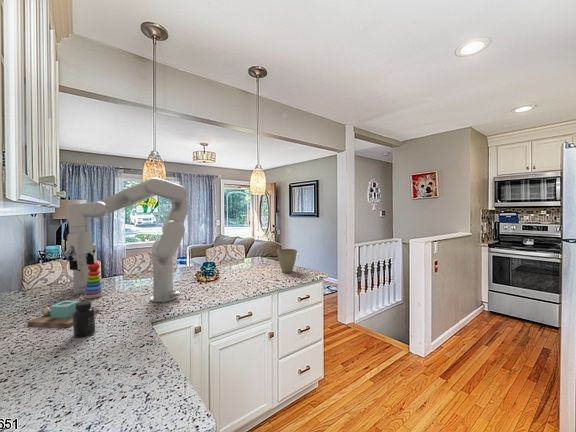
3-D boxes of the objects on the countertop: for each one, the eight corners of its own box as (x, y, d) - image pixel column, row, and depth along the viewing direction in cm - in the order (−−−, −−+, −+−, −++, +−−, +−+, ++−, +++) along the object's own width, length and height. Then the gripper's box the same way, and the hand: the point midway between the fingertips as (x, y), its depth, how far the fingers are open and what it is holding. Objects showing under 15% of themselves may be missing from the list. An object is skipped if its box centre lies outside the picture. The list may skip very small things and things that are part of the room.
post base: (98, 312, 128) (98, 299, 128) (69, 327, 112) (68, 312, 112) (62, 310, 129) (62, 298, 129) (27, 325, 113) (27, 311, 113)
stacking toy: (93, 299, 145) (92, 264, 144) (80, 298, 146) (79, 263, 146) (106, 294, 152) (105, 261, 152) (94, 294, 154) (93, 260, 153)
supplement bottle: (92, 328, 111) (91, 298, 111) (97, 333, 107) (97, 302, 106) (70, 334, 106) (70, 303, 105) (76, 339, 102) (75, 307, 101)
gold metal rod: (50, 315, 120) (49, 307, 120) (47, 316, 119) (46, 308, 119) (47, 315, 120) (46, 307, 120) (44, 316, 119) (43, 308, 119)
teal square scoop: (79, 312, 124) (79, 301, 124) (66, 318, 117) (66, 306, 117) (52, 311, 125) (52, 300, 125) (37, 317, 118) (37, 305, 118)
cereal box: (90, 292, 158) (88, 248, 157) (73, 293, 154) (72, 249, 153) (97, 282, 177) (96, 243, 176) (82, 283, 174) (81, 244, 173)
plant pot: (298, 273, 201) (298, 251, 200) (278, 274, 199) (278, 251, 198) (295, 268, 216) (295, 248, 215) (276, 269, 214) (276, 248, 213)
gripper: (86, 228, 135) (88, 262, 136) (54, 232, 117) (58, 272, 118) (101, 227, 134) (103, 262, 135) (72, 231, 117) (75, 271, 118)
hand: (82, 267), depth 127 cm, fingers open, 9 cm apart
